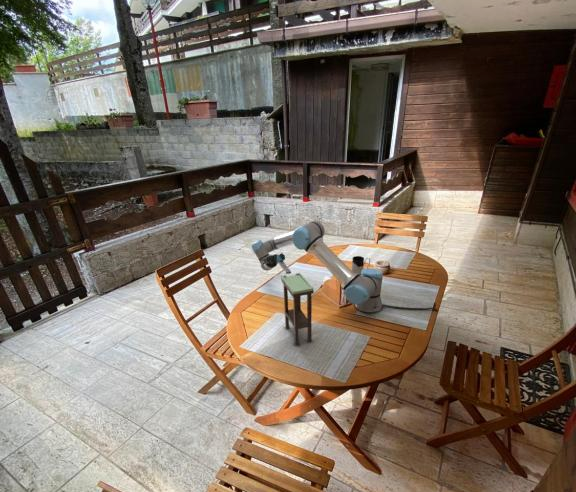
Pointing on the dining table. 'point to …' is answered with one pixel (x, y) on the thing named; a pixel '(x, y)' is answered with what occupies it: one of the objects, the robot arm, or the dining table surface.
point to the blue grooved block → (282, 264)
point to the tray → (297, 283)
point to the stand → (298, 313)
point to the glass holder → (358, 264)
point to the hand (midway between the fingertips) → (279, 256)
